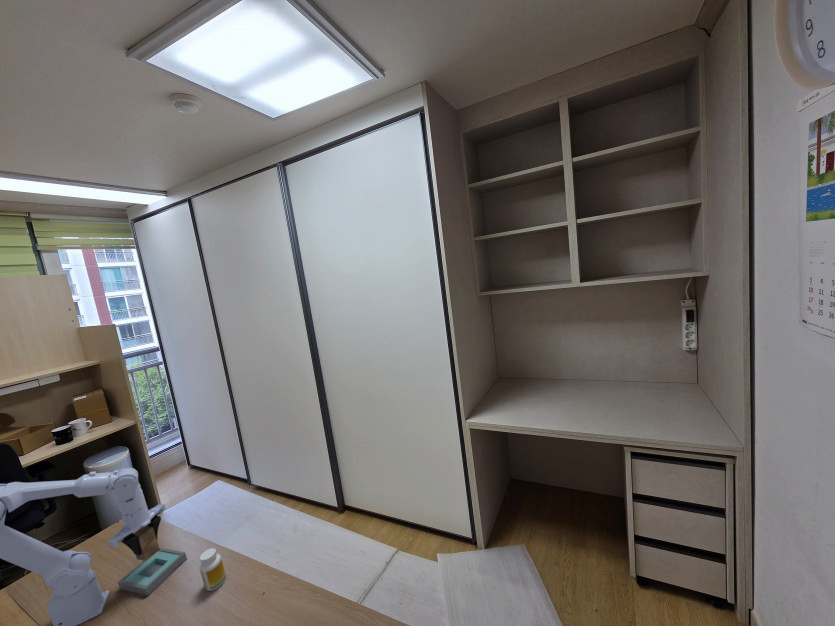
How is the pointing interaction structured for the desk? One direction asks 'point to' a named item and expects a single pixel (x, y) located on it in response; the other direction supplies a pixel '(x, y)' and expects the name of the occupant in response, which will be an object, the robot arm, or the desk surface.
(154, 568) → the socket box
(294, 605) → the desk surface
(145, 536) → the peg
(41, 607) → the desk surface
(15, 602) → the desk surface
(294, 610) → the desk surface
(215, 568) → the supplement bottle
